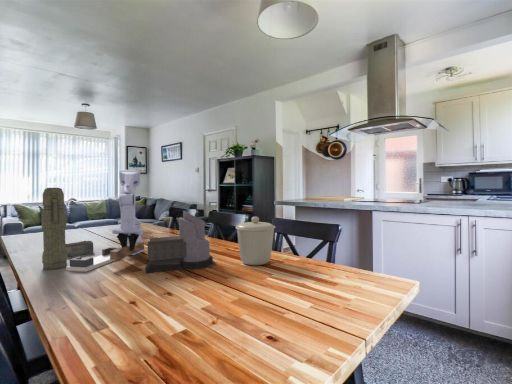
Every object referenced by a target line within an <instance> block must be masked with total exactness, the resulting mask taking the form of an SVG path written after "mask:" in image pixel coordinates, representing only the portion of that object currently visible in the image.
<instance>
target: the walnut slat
mask: <svg viewBox="0 0 512 384" xmlns="http://www.w3.org/2000/svg"><path fill="white" fill-rule="evenodd" d="M118 248H119V249H115V250H112V251H110V260H115V261H117V260H120V259H123V258H125V257H128V256H132V255H131V254H133V253H136V252H139V251H141V250H144V251H145V242H143V241H142V242H137V243H136V244H135V248H134V250H132V251H130V245H128V246H125V247H122V246H121V247H118Z"/></svg>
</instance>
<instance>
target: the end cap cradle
mask: <svg viewBox="0 0 512 384" xmlns="http://www.w3.org/2000/svg"><path fill="white" fill-rule="evenodd" d="M119 248H120V247H115V246H114V247H106V248H103V249H101V254H100V255H98V256H95V257H93V256H91V257H88V258H85V259H82V256H76V257H73V258H71V259H69V265H67V266H66V267H65V271H69V272H70V271H71V272H89V271H91V270H95V269H96V268H99V267H102V266H105V265H107V264H110V263H111V262H115V261H116V260H110V251H112V250H115V249H119Z"/></svg>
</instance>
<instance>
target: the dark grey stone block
mask: <svg viewBox="0 0 512 384" xmlns="http://www.w3.org/2000/svg"><path fill="white" fill-rule="evenodd" d="M65 244H66V250H67V258H71V257H73V258H74V257H80V256H85V255H91V254H94V241H92V240H81V241H77V242H70V243H65Z"/></svg>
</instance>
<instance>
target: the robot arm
mask: <svg viewBox="0 0 512 384" xmlns="http://www.w3.org/2000/svg"><path fill="white" fill-rule="evenodd" d="M118 174H119V175H118V176H119V182H120V184H121V186H122V187H121V194H120V195H119V197H118V203H119V210H120V228H115V229H112V230H111V231H112V235H116V238H117V240H118V241H119V243H120V246H121V248H122V247H125V246H128V245H130V251H132V250H134V248H135V244H136V243H137V242H143V238H142V235H144V234H145V232H144V231H145V230H144V229H142V223H141V222H142V221H141V220H140V219H138V218H137V217H136V190H137V187H140V185H141V170H139V169H119V173H118ZM144 251H145V249H144V250H141V251H139V252H136V253H133V254H131V255H130V256H136V255H137V254H140V253H142V252H144Z"/></svg>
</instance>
